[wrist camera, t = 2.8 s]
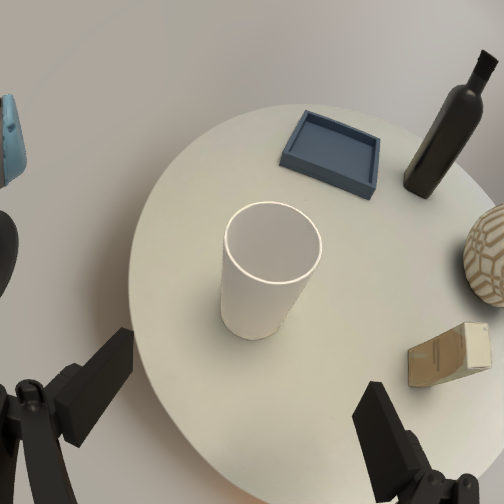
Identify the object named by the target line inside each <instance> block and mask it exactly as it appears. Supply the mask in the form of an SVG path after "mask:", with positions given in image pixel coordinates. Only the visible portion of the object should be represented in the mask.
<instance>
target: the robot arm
mask: <svg viewBox="0 0 504 504" xmlns="http://www.w3.org/2000/svg"><path fill="white" fill-rule="evenodd" d="M26 163H27V159H26V151H25V146H24V141H23V135H22V131H21V126H20V121H19V117H18V112H17V108H16V104H15V100H14V98H13V95H12V94H8V95H4V96H3V97H2V98H0V189H1V188H3V187H4V186H5V187H6V186H7V185H8V183H9V182H11V181H12V180H13V179H15V178H16V177H18V176H19V175H21V174H22V173H23V171H24V170H25V167H26ZM133 339H134V331H131V330H128V329H125V328H122V327H121V328H120V329H119V330H118V331H117V332H116V333H115V334H114V335H113V336H112V337H111V338H110V339H109V340H108V341H107V342H106V343H105V344H104V345H103V346H102V347H101V348H100V349H99V350H98V351H97V352H96V353H95V354H94V355H93V357H92V358H91V359H90V360H89V361H88V362H87V363H86V364H85V365H84V366H83V367H82V366H80V365H78V364H76V363H73V364H71V365H69V366H66V367H65V368H64V369H63V370H62V371H61V372H60V374H58V375H57V376H56V377H55V379H53V380H52V381H51V382H50V383H49V384H48V385H47V386H46V387H45V388H43V385H42V384H40V383H39V382H38V381H35V380H30V379H27V380H23V381H21V382H19V383H18V384H17V385H16V388H15V391H16V395H17V397H15V396H12V395H9V394H7V392H6V389H5V387H4V386H2V385H1V384H0V504H13V495H14V482H15V471H16V463H17V455H18V449H19V442H20V440H23V447H24V454H25V461H26V467H27V472H28V477H29V482H30V486H31V491H32V496H33V499H34V504H77V501H76V498H75V495H74V492H73V489H72V487H71V483H70V480H69V477H68V473H67V470H66V467H65V463H64V460H63V455H62V451H61V447H60V443H59V440H58V438H59V437H60V435H61V434H63V437H64V440H65V441H66V442H68V443H70V444H72V445H74V446H76V447H78V448H79V447H80V446H81V444H82V443H83V442H84V440H85V438H86V437H87V436H88V434H89V433H90V431H91V430H92V428H93V427H94V425H95V424H96V422H97V421H98V419H99V418H100V417H101V415H102V414H103V412H104V411H105V409H106V407H108V405H109V404H110V402H111V401H112V399H113V398H114V397H115V395H116V394H117V392H118V391H119V389H120V388H121V387H122V385H123V384H124V382H125V381H126V380H127V378H128V377H129V375H130V374H131V373H132V371H133ZM352 418H353V422H354V425H355V428H356V432H357V435H358V439H359V442H360V445H361V449H362V452H363V456H364V459H365V463H366V467H367V470H368V474H369V478H370V481H371V485H372V489H373V493H374V496H375V500H376V503H383V502H390V501H391V500H392V499H393V498H394V497H395V496H396V495H397V497H398V501H397V502H396V503H395V504H479V483H478V480H477V479H476V477H474V476H473V475H471V474H463V475H461V476H460V477H459V478H458V479H457V480H452V479H445V476H444V475H443V474H442V473H441V472H439V471H437V470H432V468H431V466H430V464H429V462H428V459H427V457H426V455H425V453H424V451H422V447H421V445H420V443H419V441H418V439H417V437H416V435H415V434H414V433H413V432H412V431H411V430H405V429H404V427H403V425H402V423H401V421H400V419H399V417H398V415H397V412H396V410H395V408H394V406H393V404H392V402H391V400H390V398H389V396H388V394H387V392H386V390H385V388H384V386H383V384H382V382H373V381H370V382H369V384H368V386H367V388H366V390H365V392H364V394H363V396H362V398H361V400H360V402H359V404H358V406H357V408H356V409H355V411H354V413H353V415H352Z"/></svg>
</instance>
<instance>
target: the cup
mask: <svg viewBox="0 0 504 504" xmlns="http://www.w3.org/2000/svg"><path fill="white" fill-rule="evenodd" d="M321 253H322V242H321V237H320V234H319V232H318V230H317V228H316V226H315V225H314V224H313V222H312V221H311V220H310V219H309V218H308V217H307V216H306V215H305V214H303V213H302V212H301V211H299V210H297V209H296V208H294V207H291V206H289V205H286V204H283V203H278V202H258V203H253V204H250V205H248V206H246V207H244V208H242V209H240V210H239V211H238V212H236V213H235V214H234V215H233V216H232V218H231V219H230V221H229V222H228V224H227V227H226V230H225V234H224V244H223V263H222V284H221V316H222V319H223V322H224V323H225V325H226V326H227V328H228V329H229V330H230V331H231V332H232V333H234V334H235V335H237V336H239V337H241V338H244V339H248V340H259V339H264V338H266V337H268V336H270V335H272V334H273V333H274V332H276V331H277V330H278V328H279V327H280V325H281V324H282V322H283V321H284V319H285V318H286V316H287V315H288V313H289V311H290V310H291V308H292V307H293V305H294V303H295V302H296V300H297V299H298V297H299V295H300V294H301V292H302V290H303V289H304V287H305V286H306V284H307V282H308V281H309V279H310V277H311V276H312V274H313V272H314V271H315V269H316V267H317V265H318V263H319V261H320V257H321Z"/></svg>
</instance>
